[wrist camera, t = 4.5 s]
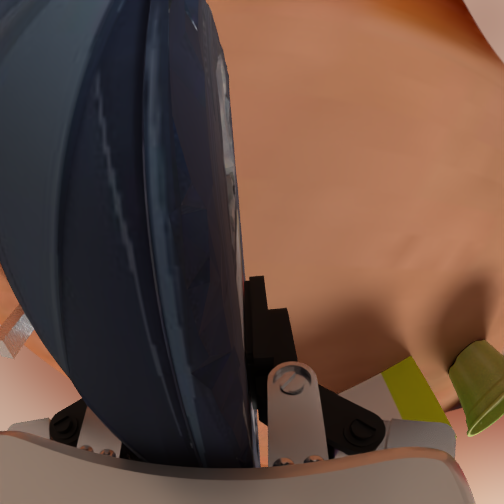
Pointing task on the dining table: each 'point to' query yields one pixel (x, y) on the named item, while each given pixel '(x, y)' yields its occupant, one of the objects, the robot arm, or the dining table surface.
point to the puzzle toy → (398, 395)
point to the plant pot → (479, 385)
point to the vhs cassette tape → (129, 218)
